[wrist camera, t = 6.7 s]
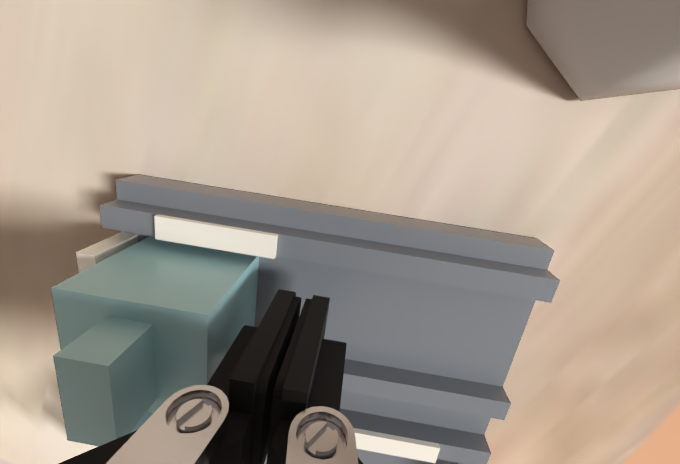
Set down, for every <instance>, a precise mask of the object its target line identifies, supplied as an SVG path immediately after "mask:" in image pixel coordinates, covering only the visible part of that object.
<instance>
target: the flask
mask: <svg viewBox="0 0 680 464" xmlns="http://www.w3.org/2000/svg"><path fill="white" fill-rule="evenodd" d="M527 28H528V29H529V30H530V32H531V33H532V34H533V36H534V37H535V39H536V40H537V41H538V43H539V44H540V46H541V47H542V48H543V50H544V51H545V52H546V54H547V55H548V57H549V58H550V59H551V61H552V62H553V63H554V65H555V66H556V68H557V69H558V70H559V72H560V73H561V74H562V76H563V77H564V79H565V80H566V81H567V83H568V84H569V86H570V87H571V88H572V90H573V91H574V92H575V94H576V95H577V97H578V98H579V99H580V101H583V100H592V99H600V98H608V97H617V96H625V95H633V94H641V93H650V92H658V91H666V90H675V89H680V0H528V5H527Z"/></svg>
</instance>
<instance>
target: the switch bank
mask: <svg viewBox="0 0 680 464" xmlns="http://www.w3.org/2000/svg"><path fill="white" fill-rule="evenodd" d="M115 182H116V195H117V199H116V200H113V201H110V202H106V203H103V204H100V205H99V207H100V217H101V227H102V228H107V229H113V230H119V233H118V234H116V235H113V236H111V237H109V238H107V239H104V240H102V241H100V242H98V243H95V244H93V245H91V246H89V247H86V248H84V249H82V250H80V251H77V252H76V257H77V265H78V273H80V272H82V271H84V270H86V269H88V268H89V267H91V266H93V265H95V264H97V263H99V262H101V261H103V260H105V259H107V258H109V257H111V256H113V255H115V254H116V253H118V252H120V251H122V250H124V249H126V248H128V247H130V246H132V245H134V244H136V243H138V242H140V241H142V240H143V239H145V238H147V237H149V236H155V239H158V240H163V241H169V242H175V243H181V244H187V245H193V246H199V247H205V248H211V249H217V250H223V251H229V252H235V253H241V254H247V255H253V256H259V269H258V284H257V299H256V313H255V327H258V326H259V324H260V322H261V320H262V319H263V317H264V315H265V313H266V311H267V310H268V308H269V306H270V304H271V302H272V300H273V299H274V297H275V295H276V293H277V291H278V290H279V289H281V290H287V291H293V292H296V297H301V308H300V314H301V311H302V308H303V305H304V303H305V300H306V298H307V299H312V297H313V295H316V296H322V297H328V298H330V301H329V308H328V315H327V322H326V328H325V335H324V339H328V340H334V341H339V342H345V343H347V345H346V355H345V365H344V374H343V384H342V393H341V403H340V412H341V413H342V414H343V415H344V416H345V417H346V418H347V419H348V420H349V422H350V423H351V425H352V426H353V430H354V433H355V438H356V447H357V456H358V458H359V459H360V460H361V461H362V462H363V464H487V462H488V459H489V457H490V454H491V452H490V449H489V447H488V444H487V441H486V438H485V436H484V434H485V431H486V429H487V426H488V423H489V421H490V418H496V419H501V420H504V419H505V417H506V414H507V412H508V409H509V407H510V404H511V403H510V401H509V399H508V397H507V395H506V393H505V391H504V389H503V384H504V381H505V379H506V376H507V373H508V371H509V368H510V366H511V363H512V360H513V358H514V355H515V352H516V350H517V347H518V345H519V342H520V339H521V337H522V334H523V332H524V329H525V326H526V324H527V321H528V318H529V316H530V313H531V311H532V308H533V305H534V303H535V300H538V301H544V302H550V303H551V302H552V299H553V297H554V294H555V292H556V289H557V287H558V284H559V282H560V280H559V279H558V278H556V277H555V276H554V275H553V274H552V273H550V272H549V271H548V270H547V269H548V266H549V263H550V261H551V258H552V255H553V253H554V250H553V249H551V248H550V247H549V246H547V245H546V244H544V243H543V242H541V241H540V240H539V239H537V238H531V237H525V236H519V235H513V234H506V233H500V232H494V231H488V230H482V229H475V228H469V227H463V226H457V225H450V224H444V223H438V222H432V221H425V220H419V219H413V218H407V217H400V216H394V215H388V214H382V213H376V212H369V211H363V210H357V209H351V208H344V207H338V206H332V205H326V204H319V203H313V202H307V201H301V200H294V199H288V198H282V197H276V196H269V195H263V194H257V193H251V192H245V191H238V190H232V189H226V188H220V187H213V186H207V185H201V184H195V183H188V182H182V181H176V180H170V179H163V178H157V177H151V176H145V175H139V174H138V175H134V176H129V177H125V178H120V179H116V180H115ZM266 463H267V456H266V460H265V463H264V464H266Z"/></svg>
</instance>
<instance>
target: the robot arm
mask: <svg viewBox="0 0 680 464" xmlns="http://www.w3.org/2000/svg"><path fill="white" fill-rule="evenodd" d="M329 301H330V298H328V297H322V296H316V295H313V297H312V299H307V298H306V300H305V303H304V305H303V308H302V311H301V314H300V308H301V297H296V292H293V291H287V290H281V289H279V290H278V291H277V293H276V295H275V297H274V299H273V300H272V302H271V304H270V306H269V308H268V310H267V311H266V313H265V315H264V317H263V319H262V320H261V322H260V324H259V326H258V327H254V326H248V325H245V326H243V328H242V329H241V331H240V332H239V334H238V335H237V337H236V339H235V340H234V342H233V343H232V345H231V347H230V348H229V350H228V351H227V353H226V355H225V356H224V358H223V360H222V361H221V363H220V364H219V366H218V368H217V369H216V371H215V372H214V374H213V376H212V377H211V379H210V380H209V382H208V384H207V385H194V386H191V387H187V388H184V389H182V390H180V391H178V392H176V393H174V394H173V395H172V396H170V397H169V398H168V399H167V400H166V401H165V402H164V403H163V404H162V405H161V406H160V407H159V408H158V409H157V410H156V411H155V412H154V413H153V414H152V415H151V417H150V418H149V419H148V420H147V421H146V422H145V423H144V424H143V425H142V426H141V427H140V428H139V429H138V430H136V431H134V432H132V433H129V434H127V435H125V436H122V437H120V438H118V439H115V440H113V441H110V442H108V443H106V444H103V445H101V446H99V447H96V448H94V449H92V450H89V451H87V452H85V453H82V454H80V455H78V456H75V457H73V458H71V459H68V460H66V461H64V462H61V463H59V464H264V463H265V460H266V456H267V463H266V464H363V462H362V461H361V460H360V459H359V458H358V456H357V447H356V438H355V433H354V430H353V426H352V425H351V423H350V422H349V420H348V419H347V418H346V417H345V416H344V415H343V414H342V413H341V412H340V403H341V393H342V384H343V374H344V365H345V355H346V345H347V343H345V342H339V341H334V340H328V339H324V335H325V328H326V322H327V315H328V308H329Z"/></svg>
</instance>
